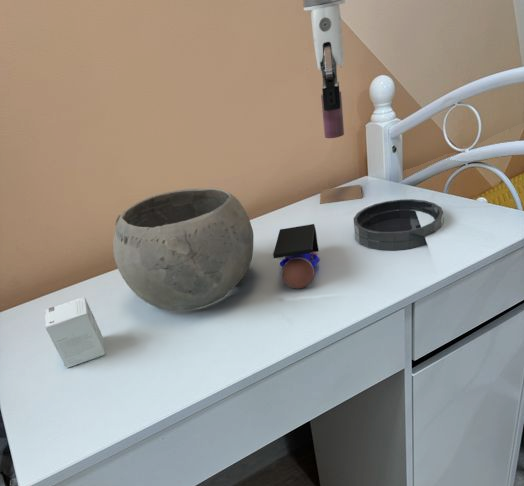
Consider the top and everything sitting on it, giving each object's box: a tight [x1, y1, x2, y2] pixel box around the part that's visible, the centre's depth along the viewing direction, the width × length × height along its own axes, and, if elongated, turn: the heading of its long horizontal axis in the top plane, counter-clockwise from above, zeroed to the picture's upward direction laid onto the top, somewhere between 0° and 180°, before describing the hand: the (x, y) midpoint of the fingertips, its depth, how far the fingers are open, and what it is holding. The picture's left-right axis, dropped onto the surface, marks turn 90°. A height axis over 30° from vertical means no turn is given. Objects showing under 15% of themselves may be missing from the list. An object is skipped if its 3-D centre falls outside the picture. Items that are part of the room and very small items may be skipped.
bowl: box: [112, 187, 255, 311], centre depth 82 cm, size 23×23×15 cm
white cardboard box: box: [44, 296, 106, 369], centre depth 73 cm, size 6×6×7 cm
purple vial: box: [320, 80, 345, 139], centre depth 100 cm, size 4×4×11 cm
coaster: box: [319, 184, 363, 205], centre depth 110 cm, size 9×9×1 cm
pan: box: [353, 198, 445, 251], centre depth 88 cm, size 15×15×4 cm
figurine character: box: [272, 223, 320, 290], centre depth 82 cm, size 7×8×15 cm
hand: (332, 106), depth 100 cm, fingers closed on purple vial, 4 cm apart
